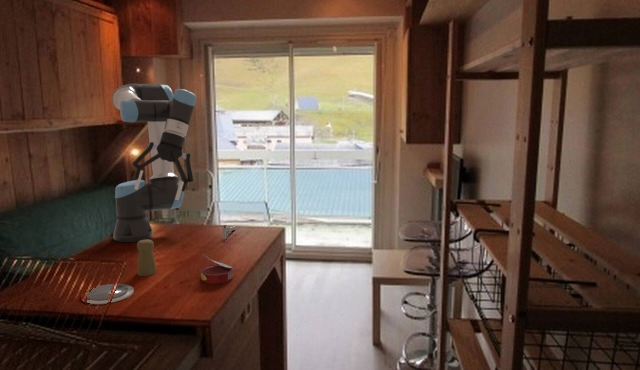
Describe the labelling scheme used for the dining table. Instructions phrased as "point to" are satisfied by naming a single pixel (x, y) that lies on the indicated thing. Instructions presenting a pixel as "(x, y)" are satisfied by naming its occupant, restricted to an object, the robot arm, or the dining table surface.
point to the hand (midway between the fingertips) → (156, 195)
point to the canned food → (216, 273)
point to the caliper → (227, 231)
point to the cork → (146, 258)
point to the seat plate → (104, 291)
